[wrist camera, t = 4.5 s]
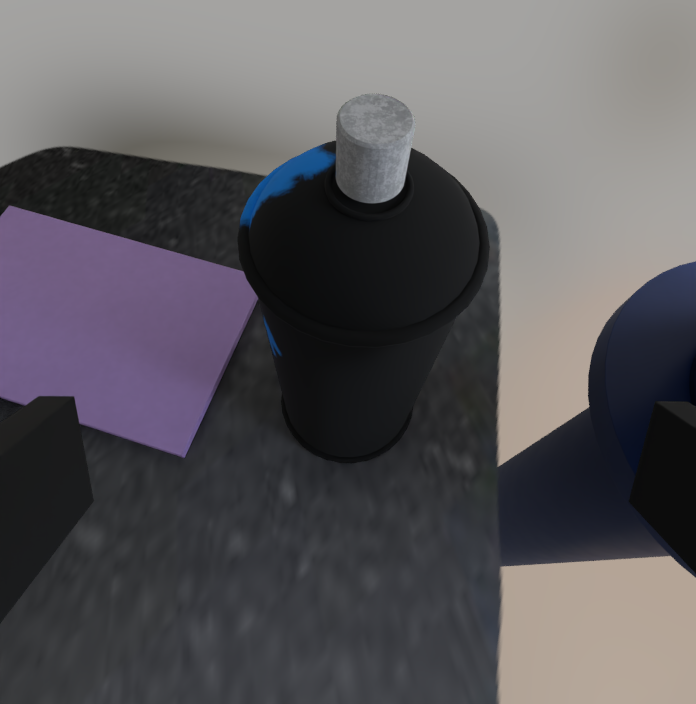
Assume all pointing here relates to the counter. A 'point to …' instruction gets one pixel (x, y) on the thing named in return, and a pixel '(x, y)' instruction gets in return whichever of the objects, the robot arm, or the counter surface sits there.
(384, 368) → the aerosol can
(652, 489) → the robot arm
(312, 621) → the counter surface
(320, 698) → the counter surface
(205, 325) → the towel
